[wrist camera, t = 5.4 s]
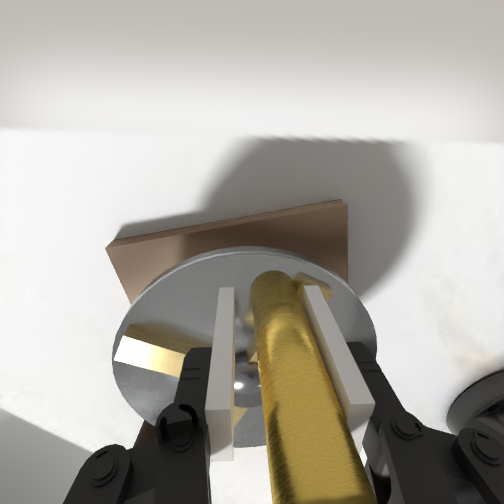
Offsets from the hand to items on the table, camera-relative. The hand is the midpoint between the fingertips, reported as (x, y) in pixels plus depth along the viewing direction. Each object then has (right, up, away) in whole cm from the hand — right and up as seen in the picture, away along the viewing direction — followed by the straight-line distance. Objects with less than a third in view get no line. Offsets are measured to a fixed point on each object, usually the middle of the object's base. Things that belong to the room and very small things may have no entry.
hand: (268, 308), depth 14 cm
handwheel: (-1, -5, +6) cm, 7 cm away
